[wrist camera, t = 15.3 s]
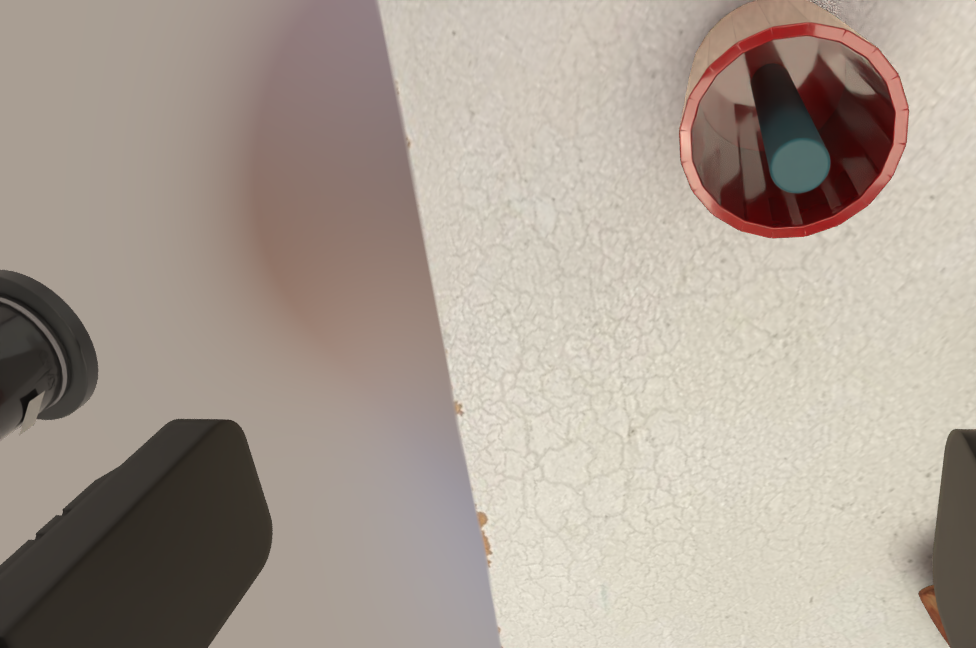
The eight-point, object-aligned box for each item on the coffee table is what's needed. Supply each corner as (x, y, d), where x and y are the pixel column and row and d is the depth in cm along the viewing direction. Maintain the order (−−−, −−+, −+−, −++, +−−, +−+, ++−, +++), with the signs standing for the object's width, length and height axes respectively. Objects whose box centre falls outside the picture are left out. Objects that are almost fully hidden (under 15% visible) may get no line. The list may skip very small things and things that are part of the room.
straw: (751, 103, 35) (769, 196, 23) (750, 65, 34) (769, 140, 22) (789, 99, 34) (830, 192, 22) (790, 60, 34) (831, 135, 21)
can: (692, 162, 37) (684, 243, 27) (686, 8, 34) (674, 38, 25) (850, 149, 35) (900, 232, 25) (857, -16, 32) (916, 8, 23)
